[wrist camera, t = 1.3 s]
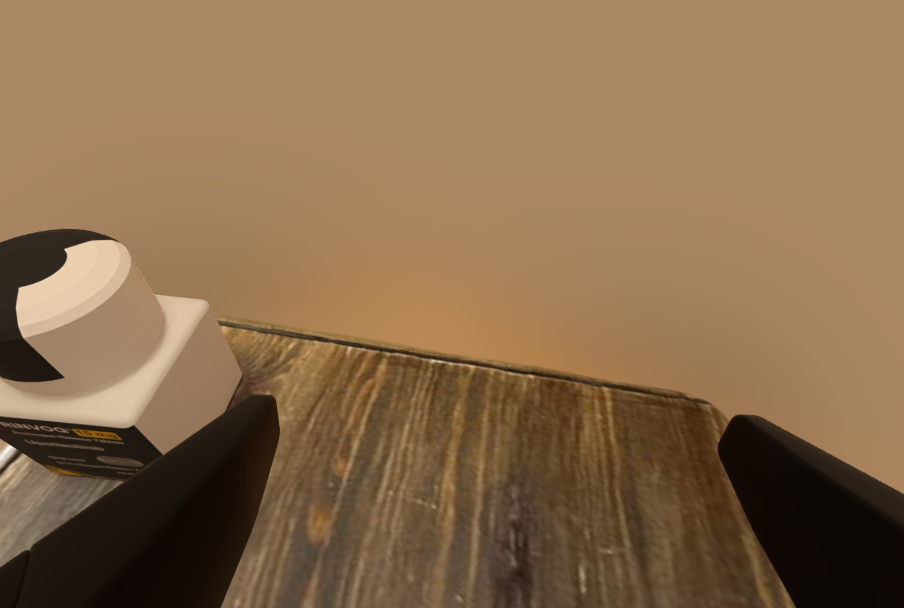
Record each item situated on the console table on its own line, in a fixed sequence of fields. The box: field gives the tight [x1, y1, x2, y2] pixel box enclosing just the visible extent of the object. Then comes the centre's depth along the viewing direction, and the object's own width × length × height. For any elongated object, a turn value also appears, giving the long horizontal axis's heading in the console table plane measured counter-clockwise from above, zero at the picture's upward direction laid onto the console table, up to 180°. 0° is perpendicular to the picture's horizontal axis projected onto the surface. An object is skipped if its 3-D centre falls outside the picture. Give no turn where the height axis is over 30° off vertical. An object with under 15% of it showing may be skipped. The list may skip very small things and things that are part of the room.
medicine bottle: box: [0, 229, 242, 480], centre depth 20 cm, size 7×7×12 cm
